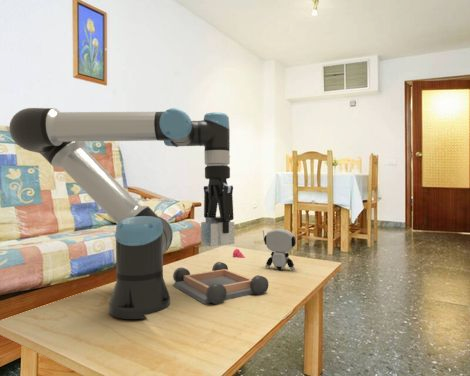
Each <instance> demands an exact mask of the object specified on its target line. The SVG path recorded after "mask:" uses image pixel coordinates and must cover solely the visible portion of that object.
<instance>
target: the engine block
mask: <svg viewBox="0 0 470 376" xmlns="http://www.w3.org/2000/svg"><path fill="white" fill-rule="evenodd" d="M220 220H221V218H220V215H219V216H216V217H206V218H205V221H200V222H201V223H200V234H201V235H200V240H201V241H200V244H201V245H203V246H207V247H211V248H212V247H221V246H222V245H220V237H219V221H220ZM229 245H235V222H234V221H230V222H229V244H225V245H224V246H229Z"/></svg>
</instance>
